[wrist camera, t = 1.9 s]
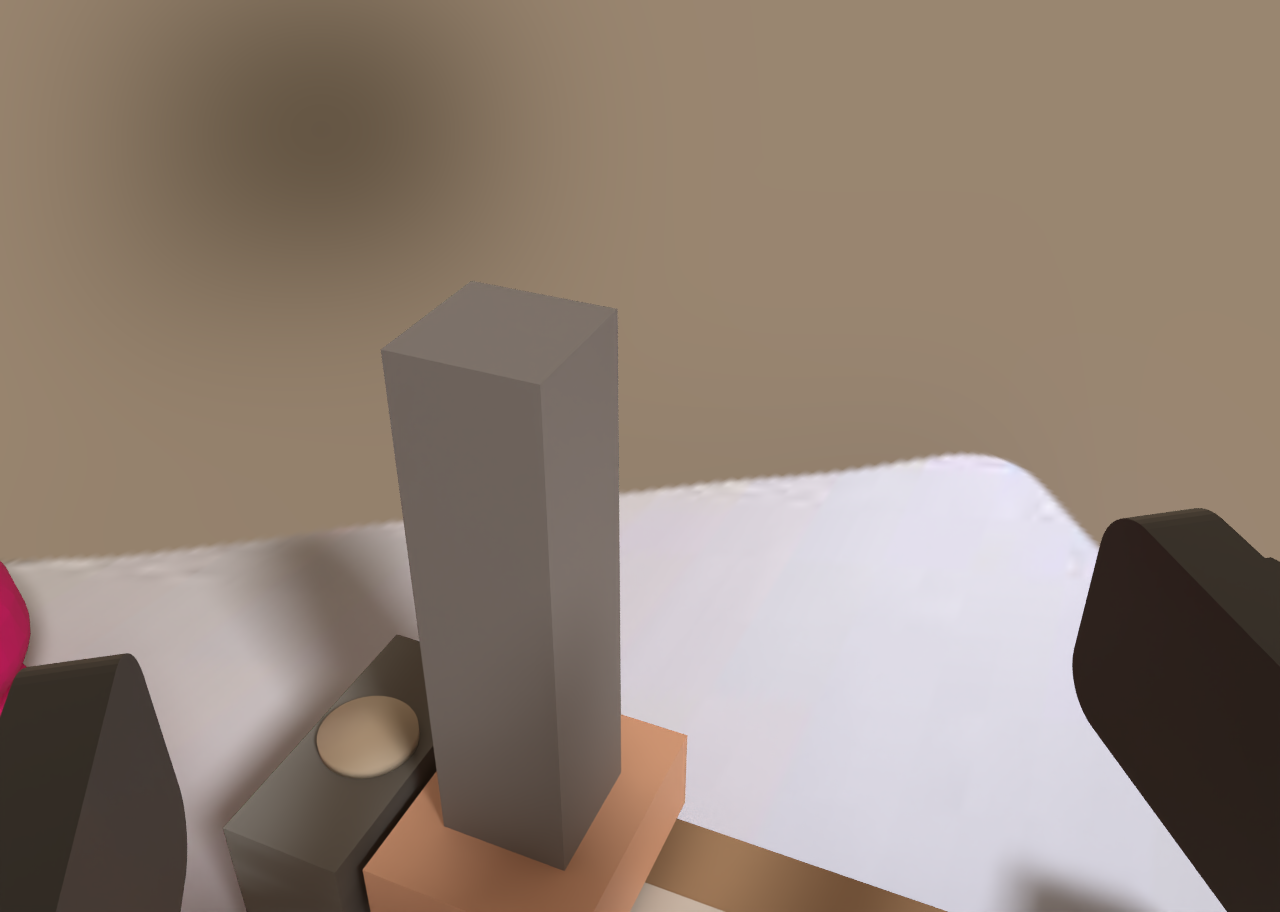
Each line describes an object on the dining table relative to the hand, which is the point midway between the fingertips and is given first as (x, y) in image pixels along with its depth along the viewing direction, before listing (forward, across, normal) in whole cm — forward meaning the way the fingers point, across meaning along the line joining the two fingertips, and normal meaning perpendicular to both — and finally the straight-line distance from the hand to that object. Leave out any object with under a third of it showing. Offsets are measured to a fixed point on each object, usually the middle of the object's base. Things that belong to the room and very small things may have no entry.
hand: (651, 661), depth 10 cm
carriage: (+11, 0, +17) cm, 20 cm away
